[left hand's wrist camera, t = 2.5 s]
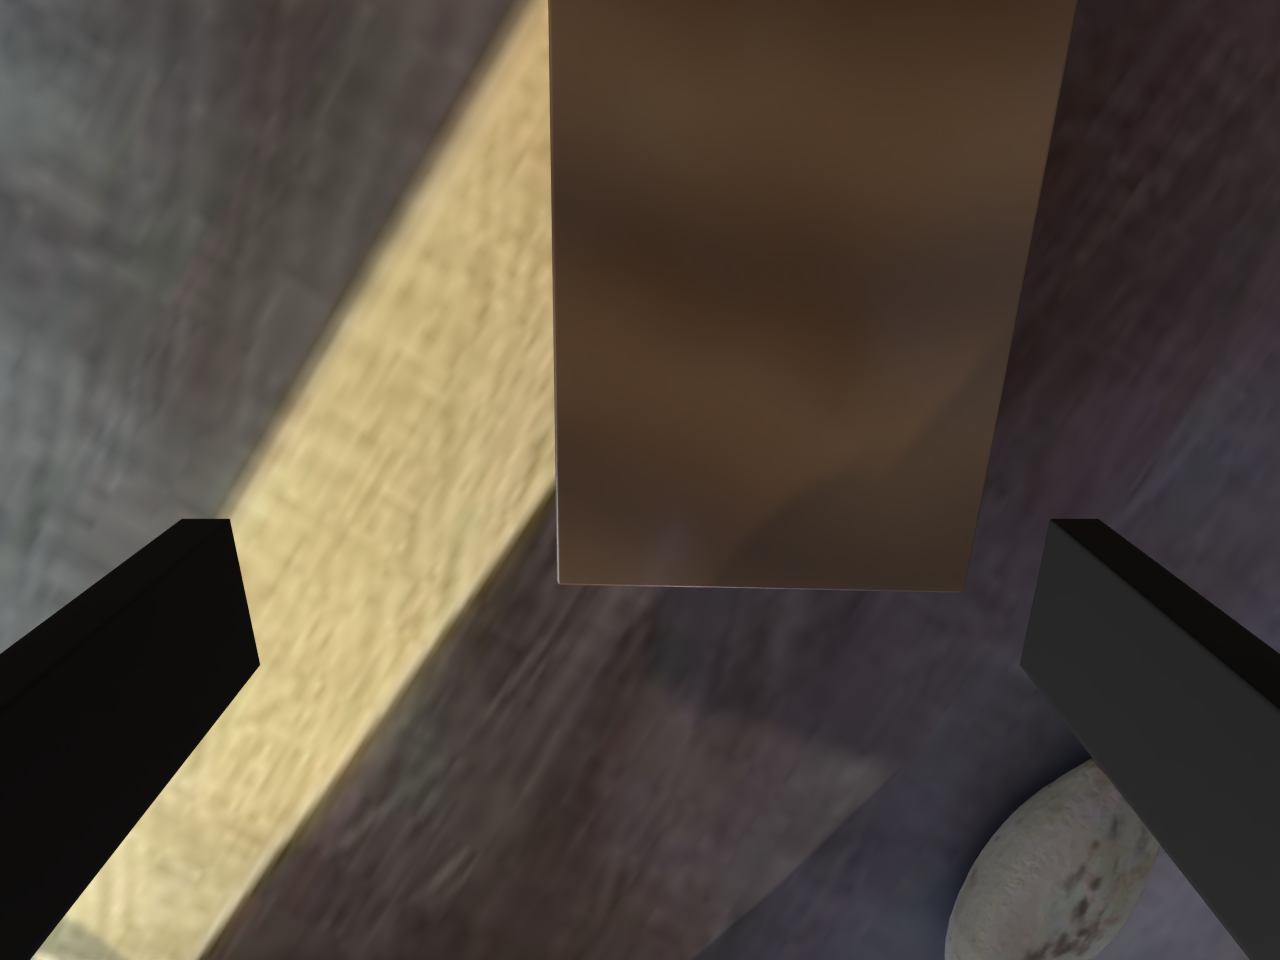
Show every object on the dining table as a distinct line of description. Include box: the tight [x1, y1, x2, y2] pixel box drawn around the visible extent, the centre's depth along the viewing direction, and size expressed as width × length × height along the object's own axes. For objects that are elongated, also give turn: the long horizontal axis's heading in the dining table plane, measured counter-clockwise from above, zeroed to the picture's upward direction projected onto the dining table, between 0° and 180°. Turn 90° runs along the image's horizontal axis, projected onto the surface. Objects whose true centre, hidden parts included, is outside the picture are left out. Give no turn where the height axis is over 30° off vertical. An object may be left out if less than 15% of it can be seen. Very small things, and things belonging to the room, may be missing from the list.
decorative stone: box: [945, 758, 1160, 960], centre depth 33 cm, size 6×16×3 cm, turn 160°
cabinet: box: [548, 0, 1078, 593], centre depth 22 cm, size 18×11×8 cm, turn 179°
